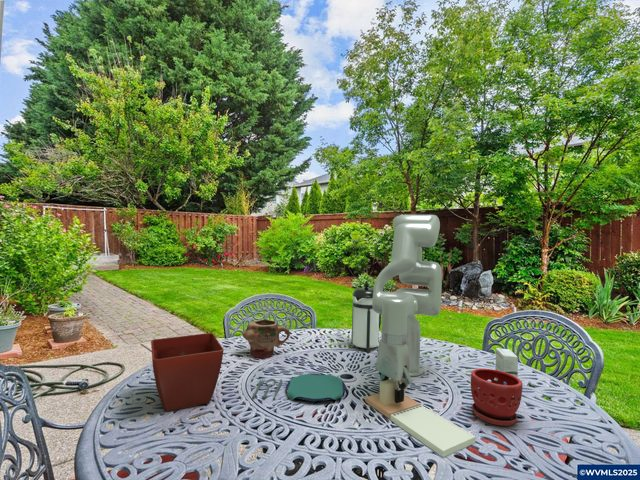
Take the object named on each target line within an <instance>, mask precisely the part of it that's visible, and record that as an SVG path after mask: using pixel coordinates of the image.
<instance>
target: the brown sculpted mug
mask: <svg viewBox="0 0 640 480" xmlns="http://www.w3.org/2000/svg"><path fill="white" fill-rule="evenodd" d="M282 332H284V333H286V337H285V338H284V339H283V340H280V334H281V333H282ZM290 336H291V332H290V330H289V329H288V327H286V326H279V325H278V323H277V322H276V321H275V320H270V319H259V320H256V321H251V322H250V323H248V324H247V326H246V329H245V330H243V332H242V337H243V339H244V340H245V341H247V342H248V345H249V347H250V350H249V354H250V357H253V358H257V359H268V358H271V357H273V355H274V354H275V353H274V352H275V350H274V349H275V348H278V347H280V346H282V345H283V344H284V343H286V342H287V340H289V338H290Z"/></svg>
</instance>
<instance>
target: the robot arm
mask: <svg viewBox="0 0 640 480" xmlns="http://www.w3.org/2000/svg"><path fill="white" fill-rule="evenodd" d="M392 226H393V227H392V228H393V232H394V233H393V240H392V248H391V249H392V251H391V258H390V262H389V263H388V265H386V266H385V267H384V268H383V269H382V270H381V271H380V272H379V273H378V276H377V277H376V279H375V281H374V285H373V289H374V291H373V298H372V307H373V310H374V311H375V312H376V313H378V314H381V331H380V335H381V336H380V337H381V338H380V339H379V343H378V345H377V346H378V347H377V352H376V364H375V367H376V370H377V372H378V375H379V377H380V378H379V380H380V382H381V381H385V380H389V379H393V380H395V382H396V388H397V389H395V403H400V402H403V401H404V389H405V390H406V389H407V388H408V387H409V386H410V385H412V384H413V380H412V377H418V376H421V375H423V374H424V370H425V369H424V367H423V366H422V365H420V362H421V361H420V360H421V357H420V355H421V324H420V321H419V320H418V318H417V317H416V316H415V315H421V316H432V317H435V316H437V315H440V313H441V309H442V308H441V307H442V290H443V289H442V284H443V281H442V280H443V279H442V278H443V276H442V275H443V273H442V272H443V271H442V268H441V267H442V266H441V265H440V264H439V263H438V262H436V261H429V260H423V247H424V248H433V247H434V246H436V244H437V242H438V239H439V233H440V228H441V223H440V219H439V217H438V216H437V215H436V214H400V215H397V216H395V217H394V218H393V221H392ZM397 276H398V278H399V281H400V282H401V283H402V284H404V285H410V286H421V287H423V286H424V287H427V288H428V289H425V288H424V289H421V288H413V287H411V288H410V287H409V288H408V287H402V288H398V289H396V290H395V291H394V292H393V291H384V287H385V285H386V284H387V282H388V281H390V280H391V279H392V278H394V277H395V278H396V277H397ZM399 381H401V384H400V382H399Z"/></svg>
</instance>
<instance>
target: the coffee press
mask: <svg viewBox="0 0 640 480" xmlns="http://www.w3.org/2000/svg"><path fill="white" fill-rule="evenodd" d="M363 285H364V287H358V288H355V289H354V291H353V292H352V294H351V295H352V308H351V309H352V311H351V318H352V319H351V341H350V343H349V345H348V347H349V348H350V349H352V348H354V347H357V348H362V349H365V351H366V354H367V353H368V354H370V353H371V349H373V348H376V347H377V348H378V346H379V342H380V328H381V326H382V314H378V313H376V312H375V311H374V310H373V307H372V298H373V291H374V287H373V288H371V287H369V286H370V284H369V283H368V282H365V283H364V284H363Z"/></svg>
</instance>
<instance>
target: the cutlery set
mask: <svg viewBox="0 0 640 480" xmlns="http://www.w3.org/2000/svg"><path fill="white" fill-rule="evenodd" d="M269 382H273V384H271V385H269V384H268V383H269ZM276 382H277V381H276V379H274V378H270V379H267V380H266V381H265V379H260V380H259V381H258V382H257V383H256V386H257V387H256V390H255V391H254V393H253V394H252V396H251V399H252V400H254V399H255V398H256V396H257V394H258V392H259V390H260V388H261V387H263V386H264V383H265V385H266V386H267V388H266V390H265V391H264V393H263V396H262V399H263V400H264V399H266V397H267V394H268V392H269V389H270V388H271V387H274V385H275V384H276ZM282 384H283V380H282V379H280V380H279V382H278V385H277V387H275V393H274V396H273V397H272V401H276V397H277V394H278V393H279V391H280V389H281V386H282ZM346 389H347V386H346V383H345V382H344V381H343V378H340V377H339V376H336V375H333V374H323V373H322V374H321V373H311V374H310V373H309V374H307V373H303V374H300V375H298V376H294V377H291V378H290V380H289V381H288V382H287V384H285V390H286V395H287V397H288V399H290V400H291V401H294V399H295V398H296V399H298V400H303V401H308V402H325V401H330V400H334V401H336V400H338V399H340V398H342V397H343V396H344V393H345V392H346Z"/></svg>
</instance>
